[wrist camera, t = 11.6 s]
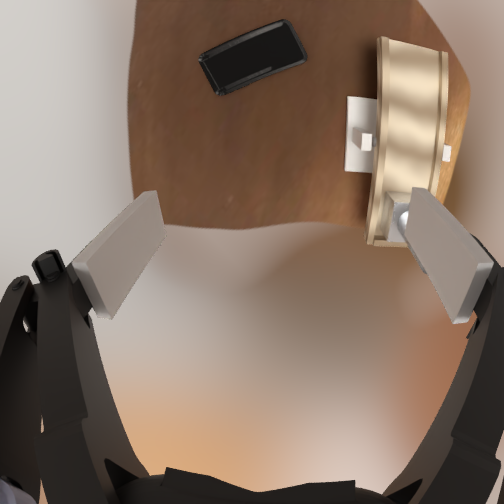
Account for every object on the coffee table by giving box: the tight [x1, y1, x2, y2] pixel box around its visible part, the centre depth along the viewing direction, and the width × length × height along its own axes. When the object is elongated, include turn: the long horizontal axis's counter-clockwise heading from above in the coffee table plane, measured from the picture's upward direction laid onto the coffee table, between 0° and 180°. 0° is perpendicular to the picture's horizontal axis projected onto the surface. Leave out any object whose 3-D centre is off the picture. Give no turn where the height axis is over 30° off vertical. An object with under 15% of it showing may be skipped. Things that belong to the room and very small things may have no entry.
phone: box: [199, 19, 307, 95], centre depth 35 cm, size 8×1×15 cm
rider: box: [380, 191, 427, 274], centre depth 33 cm, size 6×6×13 cm
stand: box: [344, 96, 451, 173], centre depth 39 cm, size 20×16×7 cm
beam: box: [364, 36, 448, 247], centre depth 34 cm, size 30×11×5 cm, turn 2°
